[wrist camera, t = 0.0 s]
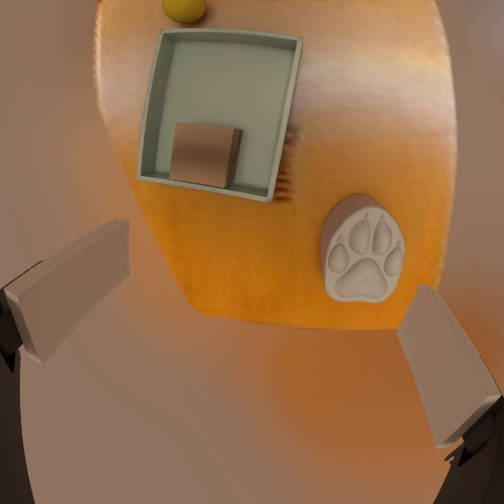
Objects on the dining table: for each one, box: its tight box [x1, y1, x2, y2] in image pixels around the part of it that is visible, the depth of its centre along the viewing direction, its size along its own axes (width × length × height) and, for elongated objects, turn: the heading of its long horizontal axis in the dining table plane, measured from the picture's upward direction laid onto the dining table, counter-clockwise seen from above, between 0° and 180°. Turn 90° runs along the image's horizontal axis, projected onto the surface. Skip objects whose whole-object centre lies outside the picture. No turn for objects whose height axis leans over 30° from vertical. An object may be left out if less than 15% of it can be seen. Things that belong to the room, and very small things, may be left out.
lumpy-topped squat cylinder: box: [320, 194, 405, 303], centre depth 35 cm, size 10×13×9 cm
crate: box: [136, 28, 303, 203], centre depth 32 cm, size 21×18×5 cm
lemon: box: [162, 0, 206, 24], centre depth 25 cm, size 6×6×8 cm
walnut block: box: [169, 122, 243, 188], centre depth 33 cm, size 7×7×6 cm
